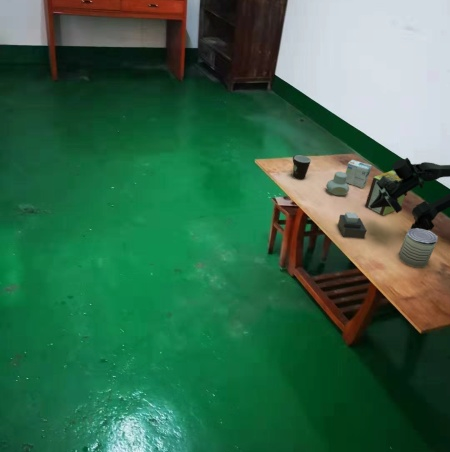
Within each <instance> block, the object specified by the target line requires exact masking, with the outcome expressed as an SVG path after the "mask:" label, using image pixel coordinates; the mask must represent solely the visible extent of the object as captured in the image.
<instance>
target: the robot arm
mask: <svg viewBox="0 0 450 452" xmlns="http://www.w3.org/2000/svg"><path fill="white" fill-rule="evenodd" d="M391 165H392V166H391V168H392V171H394V172H395V173H396V174H397V176H398V177H399V178H400V179H401V180H399V181H397V180H395V181H391V180H390V179H388V178H387V177H385V176H383V177H382V178H381V179H380V180H379V181H378V182H376V183H377V185H378V186H379V187H380V189H381V191H380V190H379V195H378V197H377V198H376V199H375V200H374V202H373V203H372V204H371V205H370V208H371V209H373V208H380V207H391V206H392V207H393V209H394V211H395V213H396V214H398V213H400V212H401V211H402V209H403V207H402V205H401V206H400V204H399V203H398V198H399V197H401V196H402V195H405V197H406V196H408V193H409V192H411V191H412V190H413V189H415V188H417V187H419V188H420V189H423V188H424V184H425V182H432V181H437V180H439V179H441V178H450V164H438V163H434V162H429V161H424V162H421V163H412V162H411V160H410V159H409V158H408V157H405V158H401V159H397V160H396V161H394V162H393V164H391ZM390 196H391V197H390ZM449 208H450V193H448V194H446V195H444V196H442V197H440V198H439V199H437V200H435V201H433V202H427V201H426V200H424V201H422V202H420V203H418V204H416V205H415V206H414V207H413V209H412V211H411V215H412V216H413V220H414V222H412V224H411V227H410V229H415V228H419V229H424V230H428V231H431V230H433V229H434V227H435V225H434V222H433V220H435V218H436V217H437V216H438V214H439V213H442V212H443V211H445V210H447V209H449ZM371 209H370V210H371Z"/></svg>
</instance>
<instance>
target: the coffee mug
mask: <svg viewBox="0 0 450 452" xmlns="http://www.w3.org/2000/svg"><path fill="white" fill-rule="evenodd" d="M292 162H293V166H292V167H293V168H292V178H294V179H296V180H304V179H306V176H307V173H308V170H309V167H310V164H311V162H312V159H311V158H310V157H308V156H306V155H299V154H298V155H293V156H292Z"/></svg>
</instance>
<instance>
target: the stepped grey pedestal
mask: <svg viewBox="0 0 450 452" xmlns="http://www.w3.org/2000/svg"><path fill="white" fill-rule="evenodd" d="M344 216H345V214H339V219H338V222H337V226H338V228H339V231H340V233H341V235H342V237H343V238H350V239H351V238H354V239H365V237H366V234H367V229H366V227H365V225H364V223H363V221H362V218H360V217H358V221H357V223H349V222H346V220H345V218H344Z"/></svg>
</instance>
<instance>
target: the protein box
mask: <svg viewBox="0 0 450 452" xmlns="http://www.w3.org/2000/svg"><path fill="white" fill-rule="evenodd" d="M383 176H385V177H387V178H388V179H390V180H391V181H395V180H397V181H399V180H401V179H400V178H399V177H398V176H397V174H396V173H395V171H394V170H390V171H387V172H383V173H381V174H378V175H376V176H373V178H372V181H371V184H370V187H369V191H368V195H367V197H366V202H365V204H364V207H366V208H367V209H369V210H371V211H373V212H375V213H377V214H378V215H381V216H386V215H387V214H390V213H393V212H394V211H395V210H394V209H393V207H392V206H391V207H380V208H373V209H371V208H370V205H371V204H372V203H373V202H374V200H375V199H376V198H377V197H378V195H379V190H380V191H381V189H380V187H379V186H378V185H377V183H376V182H378V181H379V180H380V179H381V178H382V177H383ZM390 197H391V196H390ZM405 197H406V196H405V195H402V196H401V197H399V198H398V203H399V204H400V206H401V207H402V205H403V202H404V200H405Z"/></svg>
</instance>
